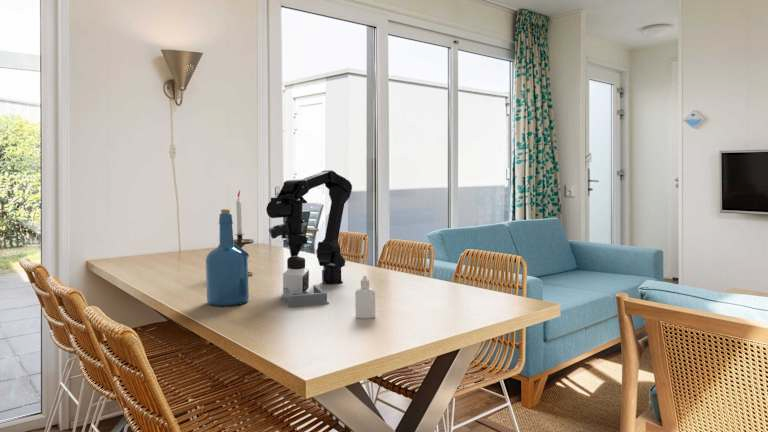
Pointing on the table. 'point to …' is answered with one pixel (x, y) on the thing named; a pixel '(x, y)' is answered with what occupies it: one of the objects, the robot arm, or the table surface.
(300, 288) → the medicine bottle
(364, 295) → the eye dropper bottle
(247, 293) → the wine bottle
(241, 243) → the candlestick
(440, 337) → the table surface
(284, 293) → the u rest
